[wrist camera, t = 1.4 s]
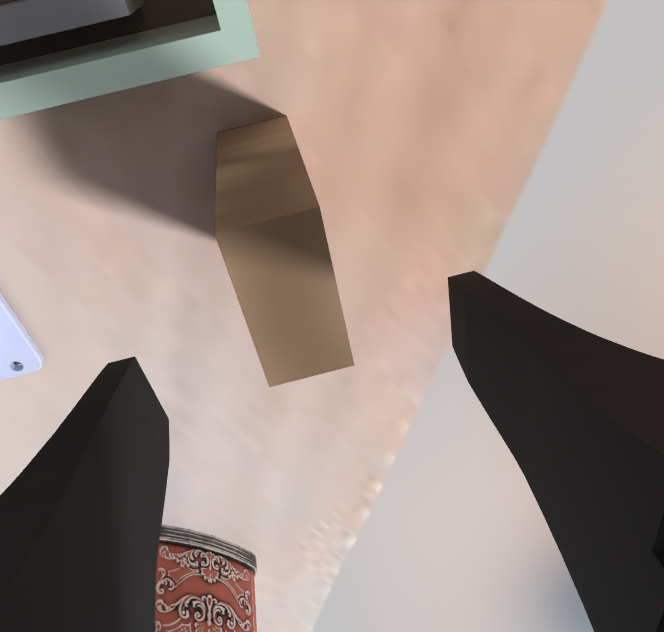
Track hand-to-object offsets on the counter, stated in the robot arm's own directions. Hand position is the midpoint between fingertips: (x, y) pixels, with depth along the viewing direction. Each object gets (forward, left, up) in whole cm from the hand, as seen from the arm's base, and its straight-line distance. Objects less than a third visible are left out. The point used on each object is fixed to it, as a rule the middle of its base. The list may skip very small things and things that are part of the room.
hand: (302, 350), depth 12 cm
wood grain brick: (0, 0, -10) cm, 10 cm away
